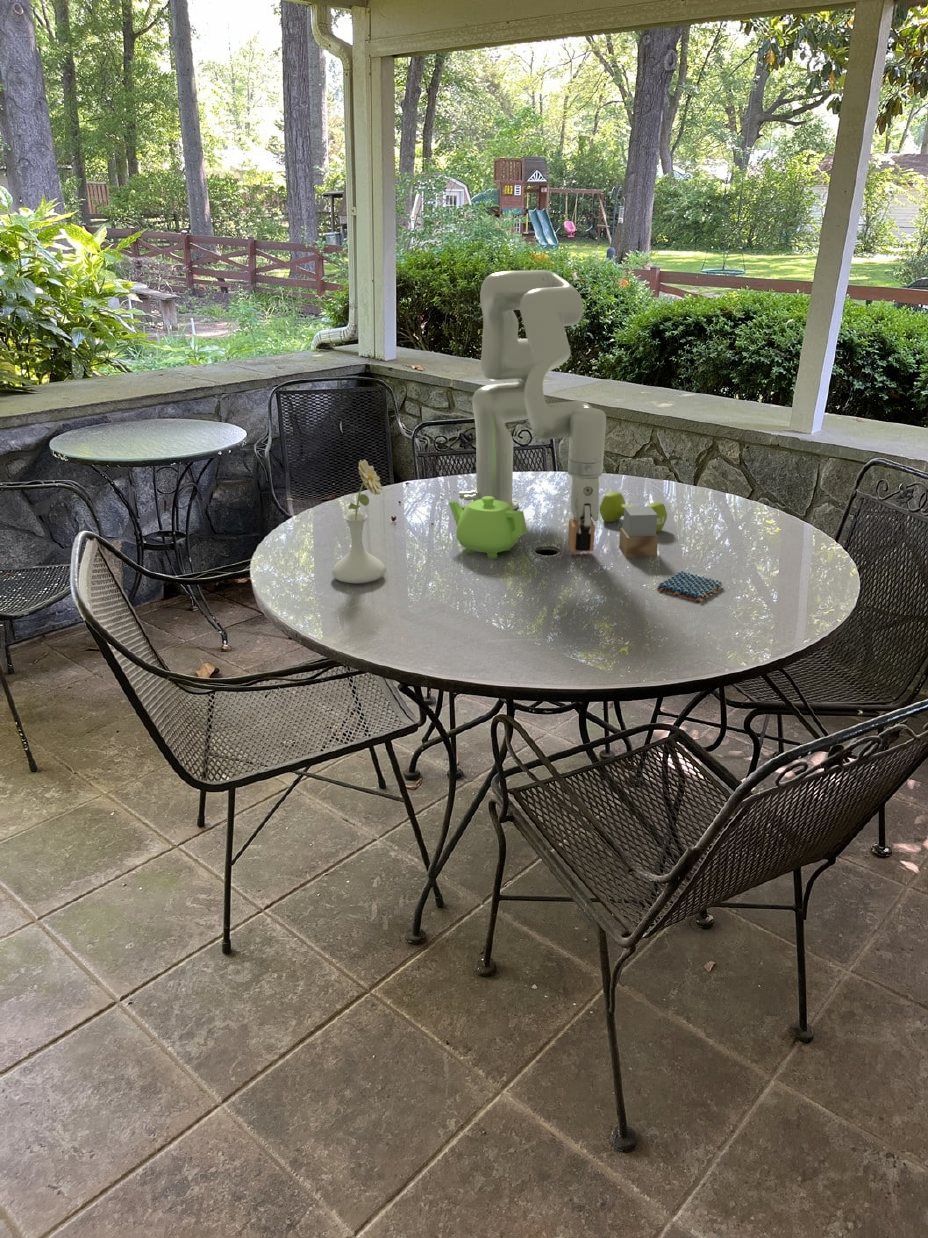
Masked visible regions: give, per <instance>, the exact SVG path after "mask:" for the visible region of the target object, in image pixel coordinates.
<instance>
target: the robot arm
mask: <svg viewBox="0 0 928 1238" xmlns="http://www.w3.org/2000/svg"><path fill="white" fill-rule="evenodd" d="M479 295H480V296H479V298H480V299H479V300H480V306H481V312H482V321H483V322H482V324H483V326H482V327H483V328H482V338H481V341H482V342H481V354H480V355H481V357H480V370H481V373H482V375H483V377H484V378H485V379H487V380H489V381H495V382H496V381H497V382H498V381H509V380H511V381H512V380H517V381H516V382H508V383H507V382H506V383H505V382H504V383H495V384H494V383H493V384H487V385H483V386H482V387H481V386H480V388H478V389H477V390H476V391H475V392H474V393H473V395H472V400H471V404H472V412H473V418H474V423H475V443H476V444H475V445H476V446H475V447H476V449H475V450H476V452H475V454H476V455H475V456H476V465H475V466H476V469H475V470H476V473H475V474H476V477H475V478H476V479H475V480H476V481H475V482H476V485H475V487H474V489H473V490H472V489H471V490H470V491H464V490H463V491H462V490H461V491H458V494H459V496H458V497H459V499H461V500H462V499H464V501H470V503H471V502H473V501H476V500H479V499H482V497H485V496H492V497H494V498H495V499H494V500H499V501H503V502H506V503H508V504H510V506H511V507H512V509H513V511H515V510H516V509H517V508H518V506H519V501H518V500H517V499H516V498H514V497H513V479H514V478H513V475H514V474H513V473H514V472H513V470H514V469H513V468H514V440H513V439H514V438H513V436H512V434H511V432H510V431H509V430H508V428H507V427H506V423H511V422H518V421H525V420H528V421H529V425H530V428H531V430H532V432H533V434H534V435H535V436H536V437H537V438H538V439H539V438H540V439H541V440H552V439H560V438H567V437H568V438H569V439H568V444H569V445H568V460H567V461H568V463H567V474H568V476H571V488H570V509H571V513H572V515H573V516H572V519H576V520H577V521H578V533H576V550H577V551H588V550H590V543H591V519H592V521H593V522H598V521H599V513H600V505H599V504H600V482H599V480H600V479H599V477H601V476H603V471H604V469H603V468H604V456H605V454H604V453H605V442H606V427H607V415H606V412H604V411H603V410H602V409H599V408H595V407H592V405H590V404H589V403H588V402H586V401H583V400H572V401H562V402H551V403H547V402H546V399H545V394H544V385H543V383H544V380H545V377H546V375H547V374H548V373H550V372H551V371H553V370H555V369H557V368H559V367H560V366H562V365H563V364H565V363H566V362H567V361H568V360H569V358H570V357H571V353H572V352H571V351H572V350H571V347H570V343H569V341H568V337H567V332H566V328H565V327H570V326H572V327H573V326H575V325H577V324H579V322H580V321H581V320H582V318H583V315H584V303H583V299H582V297H581V294H580V293H579V292H578V290H577V289H576V288H575V287H574V286H573V285H572V284H571V283H569V282H568V281H567V280H565V279H564V278H563V277H562V276H559V274H557V273H556V272H554V271H551V270H546V269H545V270H544V269H541V270H540V269H538V270H537V269H535V270H534V269H533V270H508V271H507V270H505V271H497V272H494V273H491V274H488V275H487V276H486V277H485V278H484V280H483V282H482V283H481V287H480V294H479ZM516 310H517V311H519V313H520V316H521V321H522V325H523V328H524V331H525V336H526V338H519V337H518V336H519V335H518V333H519V320H518V318H517V315H516V313H515V312H514V311H516ZM581 519H584V520H581ZM581 523H584V525H582V526H581Z"/></svg>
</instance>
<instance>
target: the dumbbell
mask: <svg viewBox="0 0 928 1238" xmlns="http://www.w3.org/2000/svg"><path fill="white" fill-rule="evenodd" d="M624 507H636V506H635V505H631V504H626V502H625V498H624V496H623V494H622V493H621V492H618V491H611V492H608V493H606V494H605V495H604V496H603V498H602V500H601V502H600V505H599V513H600V517H601V519H602V520H603V521H604V522H607V523H613V522H616V521H619V520H620V519H621V518H622V517H624ZM645 507H651V508H652V509H653V510H654V511H655V513H656V514H657V524H656V534H657V533H660V532H661V531H662V530H663V528H664V527H665V524H666V521H667V518H668V513H667V510H666V509H667V508H666V506H665V504H664V503H662V502H659V501H655V502H651V503H649V504H647V505H646V506H645Z"/></svg>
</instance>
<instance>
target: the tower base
mask: <svg viewBox="0 0 928 1238" xmlns="http://www.w3.org/2000/svg"><path fill="white" fill-rule="evenodd" d="M618 544H619V545H618V548H619V550H620V552H621V553H622V555H623V556H624V558H625V559H639V558H640V559H644V558H645V559H646V558H650V559H651V558H657V555H658V545H659V536H658V535H657V534H656V536H643V537H629V536H628V535H627V533H626V532H625V531H624V529H623V527H620V530H619V543H618Z"/></svg>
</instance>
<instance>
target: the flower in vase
mask: <svg viewBox="0 0 928 1238" xmlns="http://www.w3.org/2000/svg"><path fill="white" fill-rule="evenodd" d="M358 473H359V475H360V479H361V480H362V484H361V486H360V488H359V491H358V494H357V501H356V503H353V502H351V503H350V504H349V506H348V508H347V509H349V510H355V512H353V513H347V514H345V515H343V517H342V518H343V520H344V521H345V522H346V524H347V525H348V528H349V533H350V537H351V548H350V550H349V552H348V553H346V555H345V556H343V557H342V558H341V559H340V560H339V561H337V563H335V565H334V566H333V569H332V571H331V573H332V576H333V577H334V578H335V579H336V580H338V581H340V582H343V583H346V584H347V583H348V584H366V583H371V582H374V581H376V580H379V579H380V578H382V577H383V576H384V575H385V573H386V571H387V570H386V569H387V568H386V566H385V564H384V563H383V562H381V560H380V559H378V558H377V557H375V556H373V555H372V554H370V553H369V551H367V550H365V547H364V543H363V529H364V523H365V522H366V520H367V519H368V514H366V513H363V512H358V509H359V508H361V505H362V506H364V507H366V506H368V505H369V503H370V498H369V497H368V495H367V494H364V493H361V492H362V490H363V487H364V486H365V488H366V489H367V490H368V491H369V492H370V494H371V495H372V494H373V495H375V496H376V495H381V492H380V491H381V490H382V491H383V487H382V484H381V483H380V480H381V477H380V476H379V475H377V472H376V471H375V469H374V465H369V463H368V461H367V460H366V459H363V460H361V459H360V460H359V462H358ZM359 502H360V504H361V505H359Z"/></svg>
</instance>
